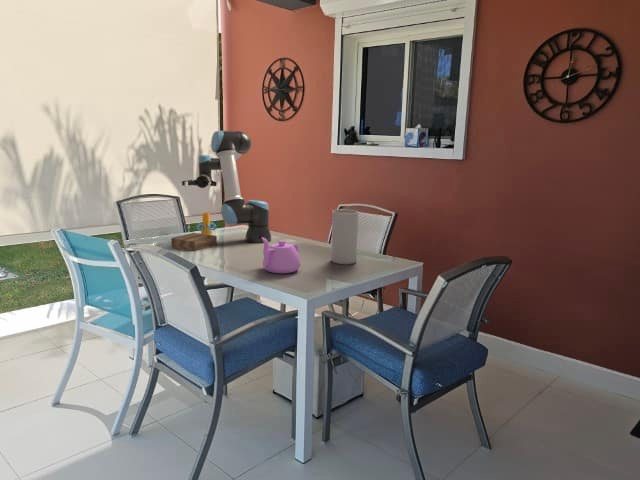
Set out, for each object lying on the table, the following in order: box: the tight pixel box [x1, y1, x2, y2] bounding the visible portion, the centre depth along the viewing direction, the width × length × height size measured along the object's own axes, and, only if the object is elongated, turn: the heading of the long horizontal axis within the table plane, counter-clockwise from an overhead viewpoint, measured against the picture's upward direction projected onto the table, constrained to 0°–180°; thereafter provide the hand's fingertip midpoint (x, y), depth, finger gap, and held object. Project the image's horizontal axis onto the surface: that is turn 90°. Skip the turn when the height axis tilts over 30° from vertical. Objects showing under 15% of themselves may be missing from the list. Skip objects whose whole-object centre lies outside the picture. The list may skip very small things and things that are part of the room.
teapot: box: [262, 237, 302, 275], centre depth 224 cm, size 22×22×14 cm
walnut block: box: [170, 232, 218, 252], centre depth 267 cm, size 16×18×5 cm
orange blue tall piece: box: [196, 211, 217, 235], centre depth 289 cm, size 12×10×15 cm
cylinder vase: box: [330, 209, 359, 265], centre depth 239 cm, size 12×12×25 cm
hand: (197, 185), depth 285 cm, fingers open, 13 cm apart
